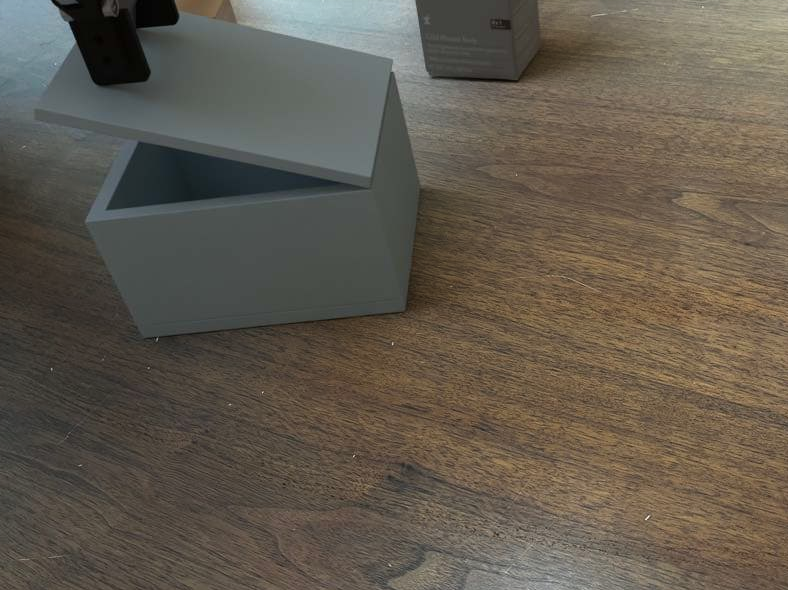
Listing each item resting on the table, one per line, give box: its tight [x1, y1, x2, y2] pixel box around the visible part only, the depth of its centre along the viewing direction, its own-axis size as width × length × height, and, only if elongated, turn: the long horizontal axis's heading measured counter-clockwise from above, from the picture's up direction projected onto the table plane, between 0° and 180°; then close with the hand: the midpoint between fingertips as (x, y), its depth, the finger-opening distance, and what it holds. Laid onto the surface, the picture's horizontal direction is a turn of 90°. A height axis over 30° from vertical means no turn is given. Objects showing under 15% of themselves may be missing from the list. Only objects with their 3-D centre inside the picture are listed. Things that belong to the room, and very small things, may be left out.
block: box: [174, 0, 239, 24], centre depth 95 cm, size 5×5×5 cm
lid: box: [33, 0, 394, 188], centre depth 63 cm, size 18×14×5 cm
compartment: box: [84, 70, 422, 339], centre depth 70 cm, size 17×14×9 cm
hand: (138, 49), depth 63 cm, fingers closed on lid, 6 cm apart
